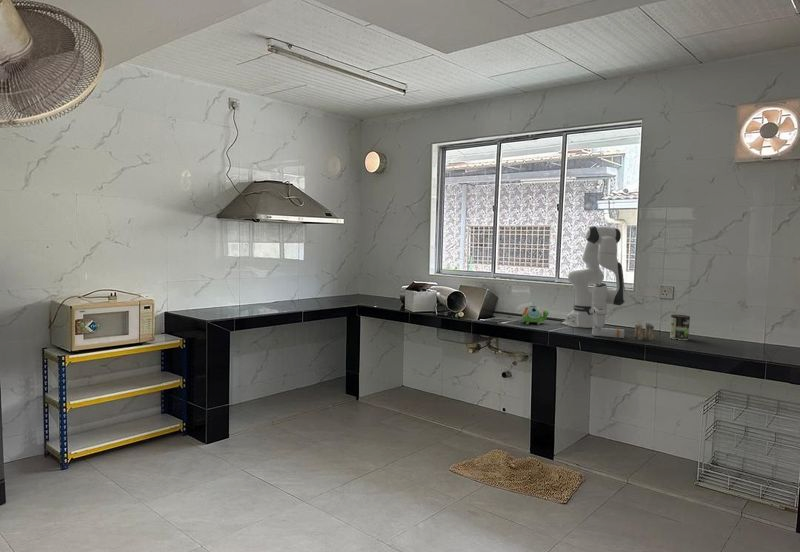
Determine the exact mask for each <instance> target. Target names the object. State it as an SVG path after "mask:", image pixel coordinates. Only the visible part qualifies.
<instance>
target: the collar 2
mask: <svg viewBox="0 0 800 552" xmlns="http://www.w3.org/2000/svg"><path fill="white" fill-rule="evenodd" d="M654 331H655V326H654V325H652V324H651V323H649V322H648V323H647V322H646V323H645V332H644V333H645V335H644V337H645V338H646V339H647V338H648V341H654Z"/></svg>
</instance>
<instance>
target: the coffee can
mask: <svg viewBox="0 0 800 552" xmlns="http://www.w3.org/2000/svg"><path fill="white" fill-rule="evenodd" d="M690 320H691V316H690V315H685V314H671V316H670V328H669V330H670V331H669V334H670V335H669V339H671V338H672V339H671V340H676V339H678V340H677V341H689V340H688V339H690V337H689V335H690Z"/></svg>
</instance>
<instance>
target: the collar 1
mask: <svg viewBox="0 0 800 552" xmlns="http://www.w3.org/2000/svg"><path fill="white" fill-rule="evenodd" d="M634 326H635V327H634V337H635V338H637V340H639V341H643V336H644V335H643V333H644V325H643V324H641V323H640V322H635V325H634Z"/></svg>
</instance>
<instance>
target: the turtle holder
mask: <svg viewBox="0 0 800 552" xmlns="http://www.w3.org/2000/svg"><path fill="white" fill-rule="evenodd" d="M549 313H550V312H549V310H548V309H544V310H543V312H542V310H541V309H540V308H539V306H537V305H527V307H525V308H524V310H523V312H522V319H521V320H522V321H523V322H524V323H525V325H530V323H536V325H541V322H545V321H546V320H547V318H548V315H549Z"/></svg>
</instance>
